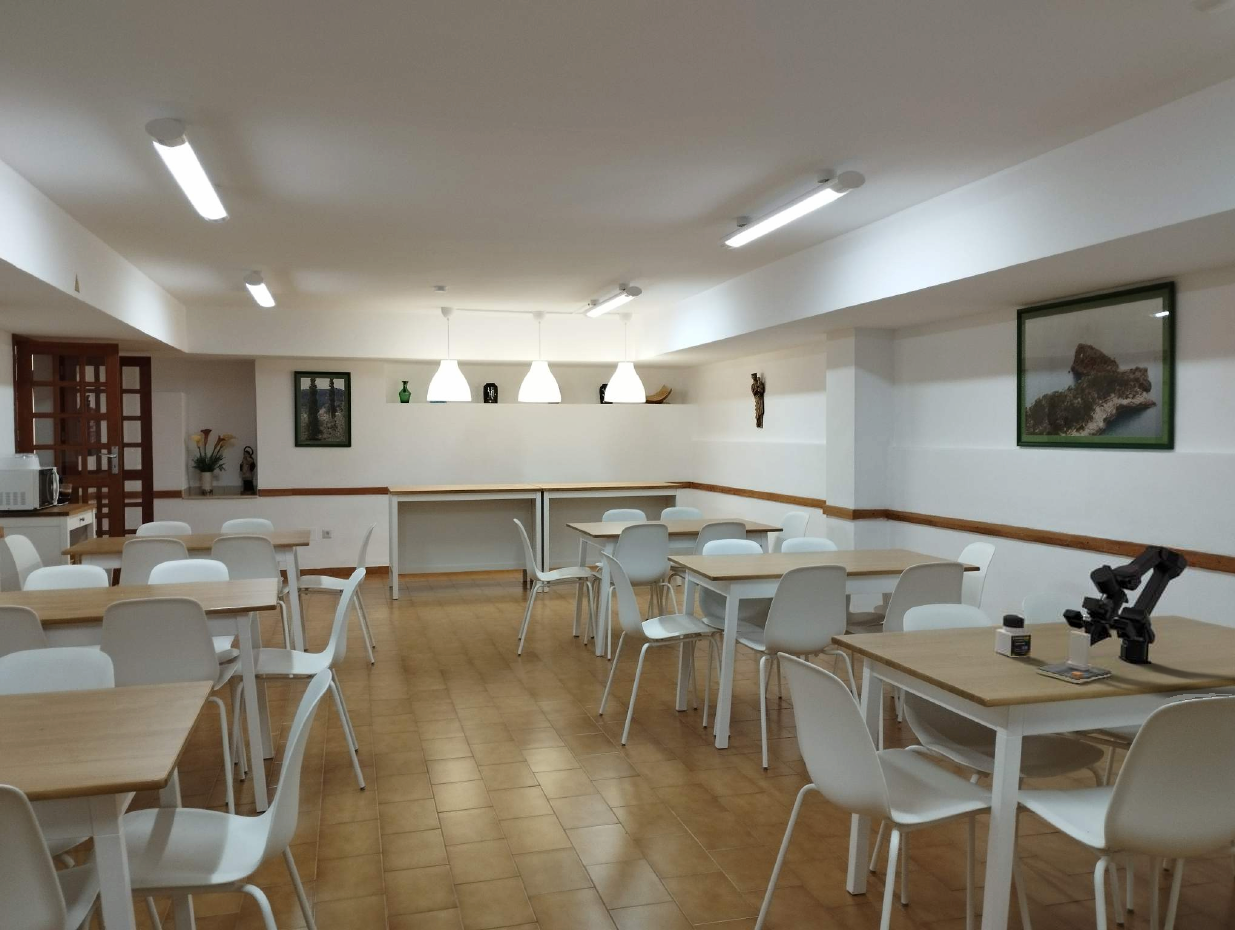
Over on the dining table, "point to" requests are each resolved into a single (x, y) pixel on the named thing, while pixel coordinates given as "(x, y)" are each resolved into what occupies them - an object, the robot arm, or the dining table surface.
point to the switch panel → (1074, 671)
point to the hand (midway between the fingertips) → (1085, 646)
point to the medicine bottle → (1013, 637)
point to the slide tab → (1079, 651)
